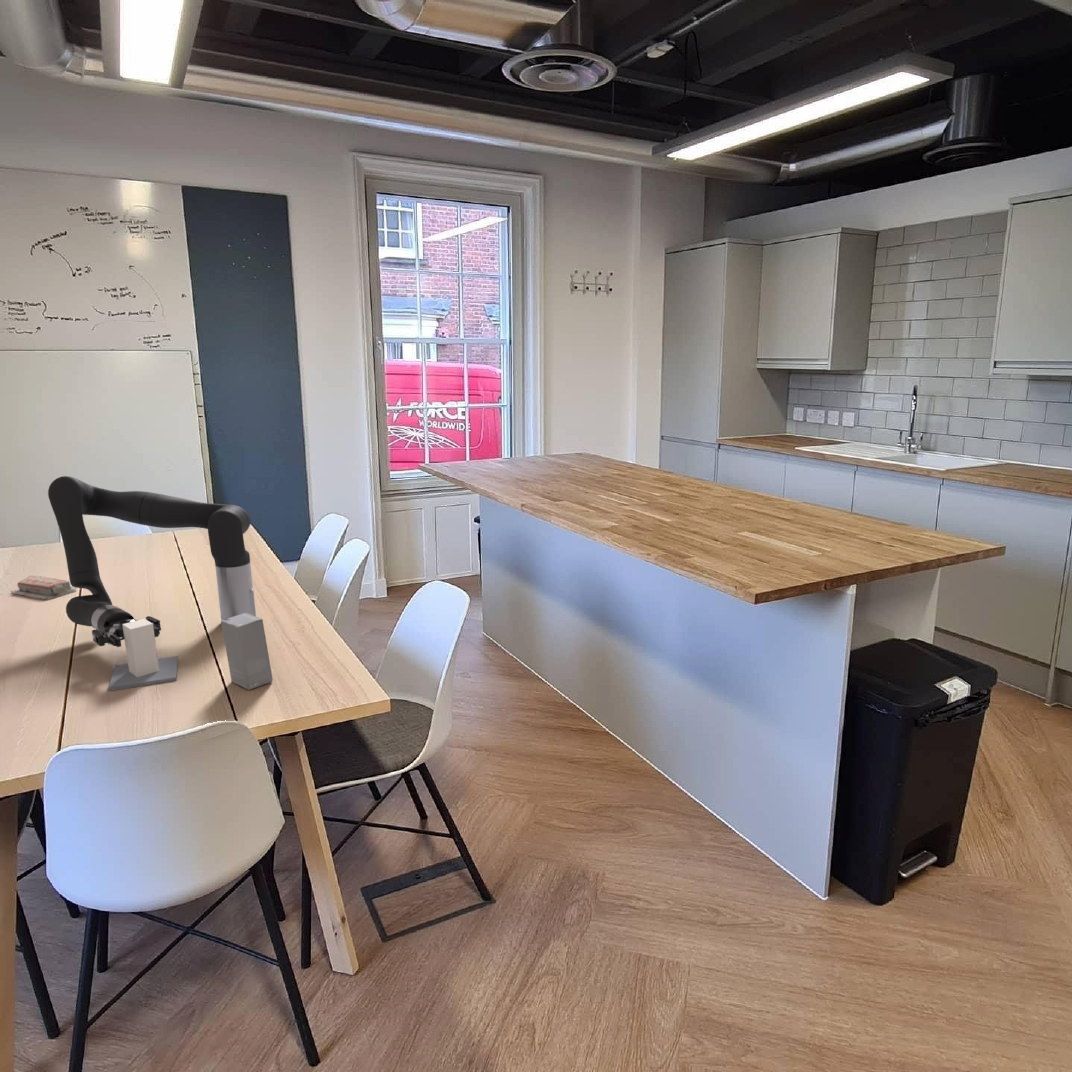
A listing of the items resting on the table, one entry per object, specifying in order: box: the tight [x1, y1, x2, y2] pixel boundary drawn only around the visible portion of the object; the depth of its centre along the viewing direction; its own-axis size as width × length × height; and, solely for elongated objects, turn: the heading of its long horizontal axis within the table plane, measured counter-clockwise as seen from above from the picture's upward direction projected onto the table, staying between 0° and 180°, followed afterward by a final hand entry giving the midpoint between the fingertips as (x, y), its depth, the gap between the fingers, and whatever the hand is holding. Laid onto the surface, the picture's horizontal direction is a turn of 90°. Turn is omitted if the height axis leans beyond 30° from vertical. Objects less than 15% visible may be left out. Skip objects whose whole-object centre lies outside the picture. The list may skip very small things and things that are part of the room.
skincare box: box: [220, 613, 274, 691], centre depth 176 cm, size 8×7×16 cm
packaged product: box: [10, 575, 77, 601], centre depth 245 cm, size 18×5×10 cm
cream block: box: [122, 618, 159, 677], centre depth 181 cm, size 5×5×12 cm
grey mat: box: [108, 655, 180, 692], centre depth 183 cm, size 14×14×1 cm
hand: (138, 637), depth 182 cm, fingers open, 8 cm apart
